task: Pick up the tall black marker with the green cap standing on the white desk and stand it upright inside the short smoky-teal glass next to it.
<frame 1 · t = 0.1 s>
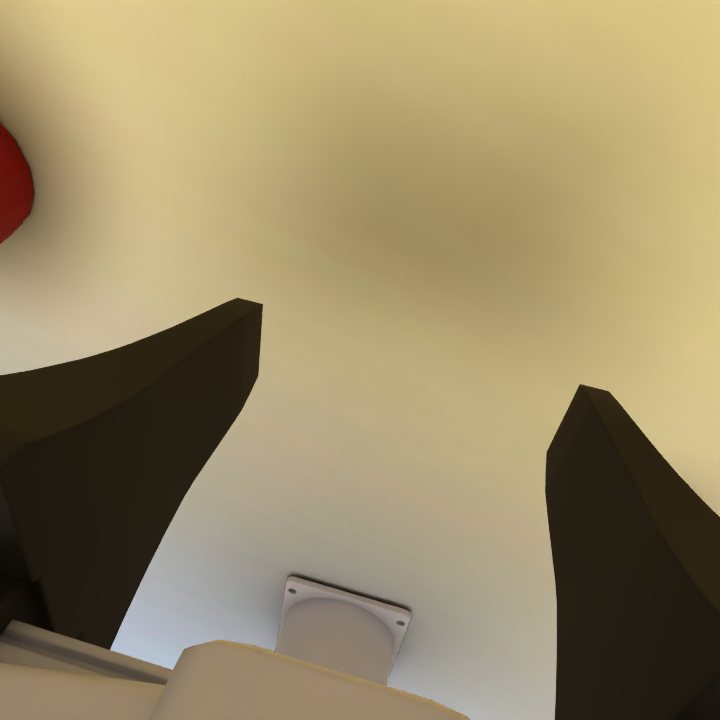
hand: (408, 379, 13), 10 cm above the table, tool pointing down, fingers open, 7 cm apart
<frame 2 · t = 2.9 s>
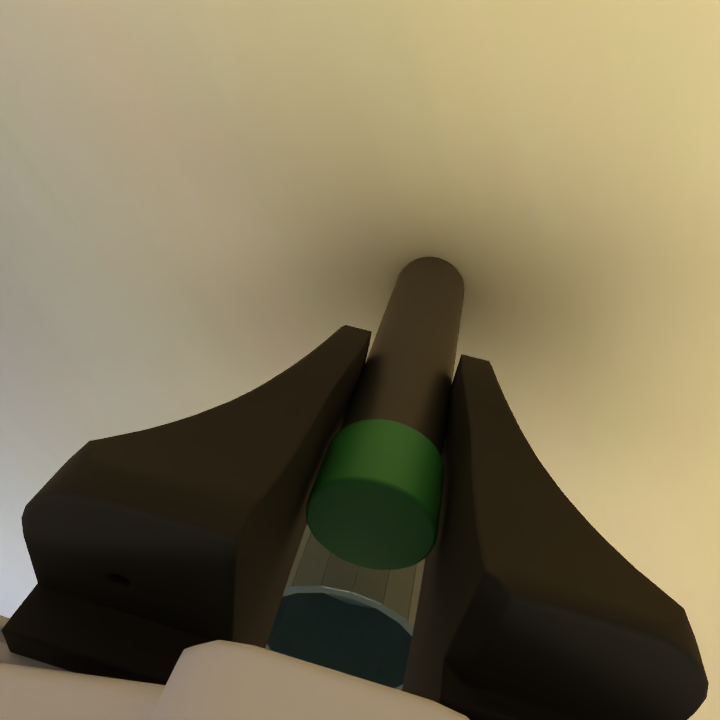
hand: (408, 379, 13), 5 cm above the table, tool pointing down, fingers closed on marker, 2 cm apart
marker: (429, 288, 16), on the table, touching gripper
tumbler: (362, 551, 24), on the table
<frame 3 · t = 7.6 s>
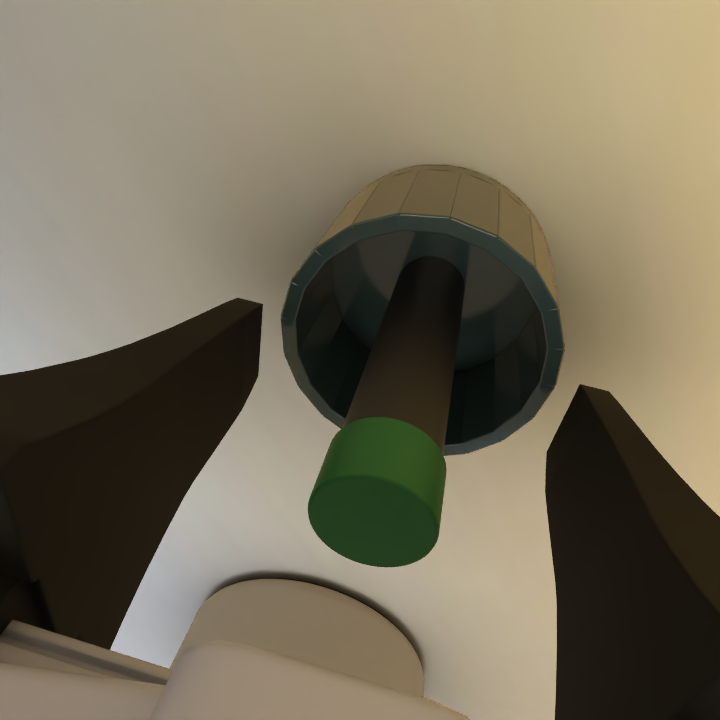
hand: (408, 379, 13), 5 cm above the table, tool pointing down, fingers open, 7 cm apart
marker: (430, 287, 16), point 1 cm above the table, touching tumbler
cylinder vase: (311, 642, 30), on the table
tumbler: (432, 279, 17), on the table, touching marker
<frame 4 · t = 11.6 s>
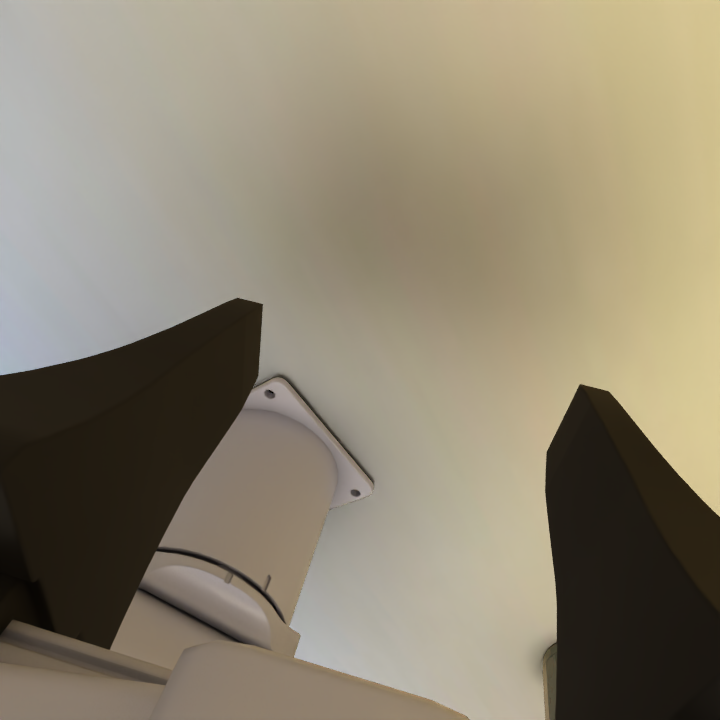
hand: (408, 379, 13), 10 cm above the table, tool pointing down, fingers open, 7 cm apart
tumbler: (602, 668, 33), on the table, touching marker
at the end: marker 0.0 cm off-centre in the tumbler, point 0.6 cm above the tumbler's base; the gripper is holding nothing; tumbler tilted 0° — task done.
